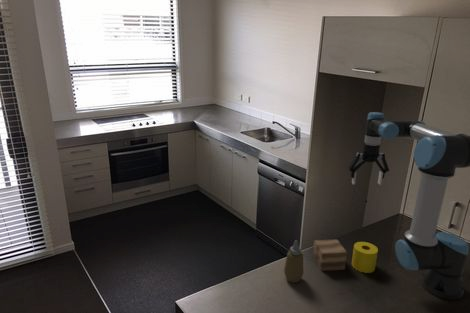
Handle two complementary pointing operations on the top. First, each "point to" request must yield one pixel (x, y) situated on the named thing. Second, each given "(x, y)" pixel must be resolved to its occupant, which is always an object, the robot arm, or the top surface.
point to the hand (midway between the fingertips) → (366, 183)
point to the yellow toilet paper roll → (364, 257)
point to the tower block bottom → (328, 264)
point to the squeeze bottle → (294, 264)
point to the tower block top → (329, 251)
